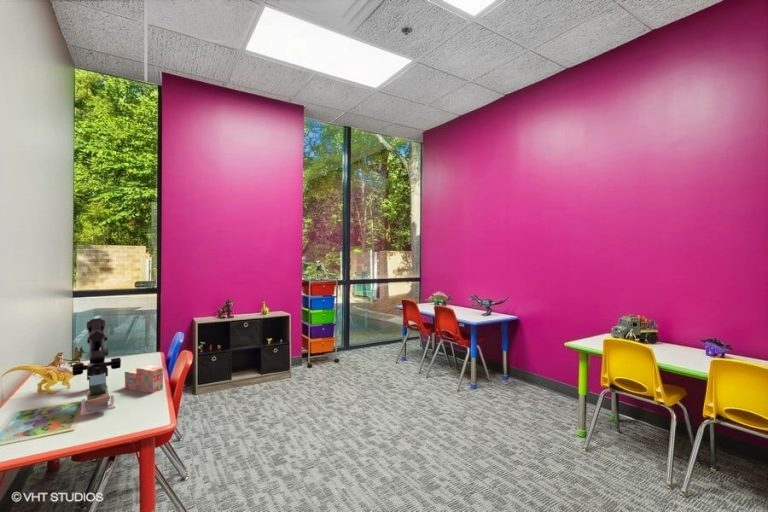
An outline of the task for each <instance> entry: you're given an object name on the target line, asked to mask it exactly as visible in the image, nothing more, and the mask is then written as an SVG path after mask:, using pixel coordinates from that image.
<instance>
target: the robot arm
mask: <svg viewBox="0 0 768 512" xmlns="http://www.w3.org/2000/svg"><path fill="white" fill-rule="evenodd" d="M105 329H106V320H104V319H102V318H99V317H98V318H92V319H89V321H87V322H86V331H87V334H88V337H87V338H86V339H87V340H86V341H87V343H86V344H87V345H88V346H89V363H88V364H87V365H84V362H79V363H74V364H72V367H71V369H72V376H80V375H82V374H84V371H86V380H87V381H88V387H89V388H88V389H86V391H87V390H90V376H95V375H101V374H106V377H108V376H109V368H108V367H109V366H110V369H112V370H116V369H120V368H121V367H122V366H121V365H122V359H121V358H120V357H114V358H110V361H106V357H108V356H109V348H105V343H106V342H107V341H108V336H107V334H105V332H104V330H105ZM105 361H106V362H105ZM106 387H107V388H108V385H106Z"/></svg>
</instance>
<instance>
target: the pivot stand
mask: <svg viewBox="0 0 768 512" xmlns="http://www.w3.org/2000/svg"><path fill="white" fill-rule="evenodd" d="M114 395H115V393H110V394H109V396H110V403H108V408H107V409H103V410H98V411H93V412H89V407H86V399H85V398H83V399H81V409H80V416H83V415H88V414H93V413H98V412H99V413H100V412H103V411H107V410H112V409H116V403H115V401H114V400H115V396H114Z"/></svg>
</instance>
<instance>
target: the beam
mask: <svg viewBox="0 0 768 512" xmlns="http://www.w3.org/2000/svg"><path fill="white" fill-rule="evenodd" d="M86 393H87V395H86V398H87V399H85V404H86V406H88V408H89V412H93V411H98V410H103V409H107V408H108V404H109V402H110V400H111V398H110V394H109V389H108V386H107V387H106V393H104V394H99V395H94V396H90V390H87V389H86ZM103 411H104V410H103Z"/></svg>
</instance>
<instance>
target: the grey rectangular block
mask: <svg viewBox="0 0 768 512" xmlns="http://www.w3.org/2000/svg"><path fill="white" fill-rule="evenodd" d="M106 386H107V376H106V374H101V375H95V376H90V396H94V395H99V394H104V393H106Z"/></svg>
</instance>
